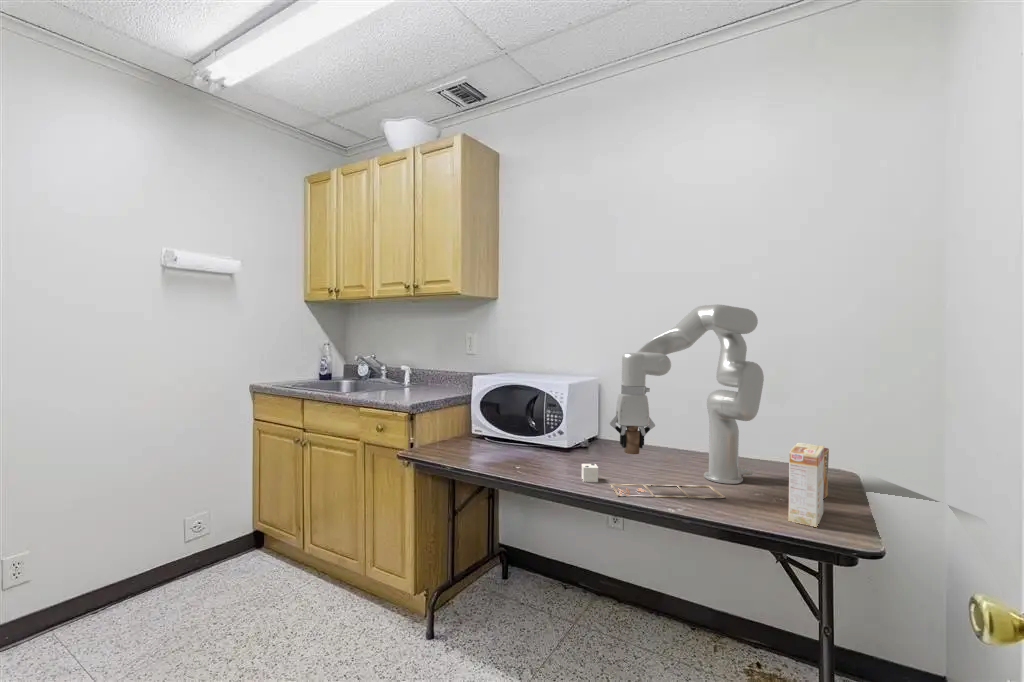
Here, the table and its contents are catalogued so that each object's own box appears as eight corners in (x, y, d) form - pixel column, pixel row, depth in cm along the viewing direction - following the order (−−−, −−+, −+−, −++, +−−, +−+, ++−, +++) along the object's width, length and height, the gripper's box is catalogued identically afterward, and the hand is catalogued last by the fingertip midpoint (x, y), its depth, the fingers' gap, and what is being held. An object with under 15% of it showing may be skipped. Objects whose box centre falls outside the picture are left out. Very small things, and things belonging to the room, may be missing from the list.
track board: (710, 486, 158) (710, 485, 158) (726, 498, 146) (726, 497, 146) (610, 485, 158) (610, 483, 158) (617, 496, 146) (617, 495, 146)
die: (595, 478, 166) (595, 463, 166) (598, 482, 161) (598, 467, 161) (581, 477, 166) (581, 463, 166) (583, 482, 161) (583, 467, 161)
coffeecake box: (795, 507, 140) (797, 441, 139) (824, 513, 135) (825, 445, 135) (786, 522, 128) (788, 450, 128) (817, 529, 124) (819, 455, 123)
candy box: (812, 492, 153) (813, 445, 153) (828, 495, 150) (829, 448, 150) (806, 499, 147) (807, 450, 146) (822, 502, 144) (823, 452, 144)
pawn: (637, 450, 154) (638, 419, 154) (641, 454, 149) (641, 422, 149) (622, 450, 154) (623, 419, 154) (626, 454, 150) (626, 422, 149)
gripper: (656, 390, 156) (654, 445, 156) (604, 389, 156) (603, 443, 156) (663, 393, 148) (661, 450, 148) (609, 391, 148) (607, 449, 148)
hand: (631, 446), depth 152 cm, fingers closed on pawn, 4 cm apart
